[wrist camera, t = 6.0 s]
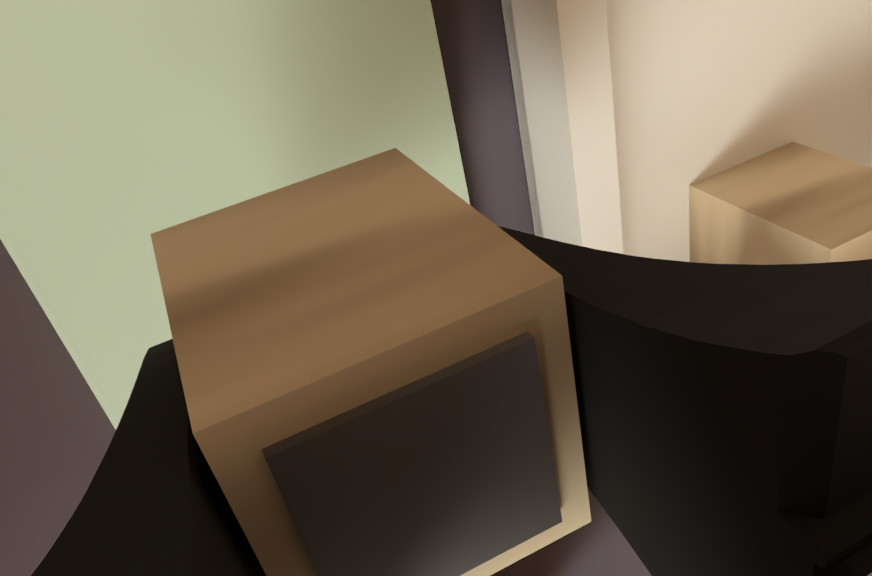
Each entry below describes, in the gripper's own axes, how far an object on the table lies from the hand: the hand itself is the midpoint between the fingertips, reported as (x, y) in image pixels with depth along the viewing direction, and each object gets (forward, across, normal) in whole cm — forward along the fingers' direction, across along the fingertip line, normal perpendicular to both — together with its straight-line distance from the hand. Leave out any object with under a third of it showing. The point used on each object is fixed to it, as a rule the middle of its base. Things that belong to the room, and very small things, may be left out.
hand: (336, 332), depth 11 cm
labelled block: (+1, 0, 0) cm, 1 cm away
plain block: (+6, -14, +6) cm, 16 cm away
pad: (+7, 0, 0) cm, 7 cm away
